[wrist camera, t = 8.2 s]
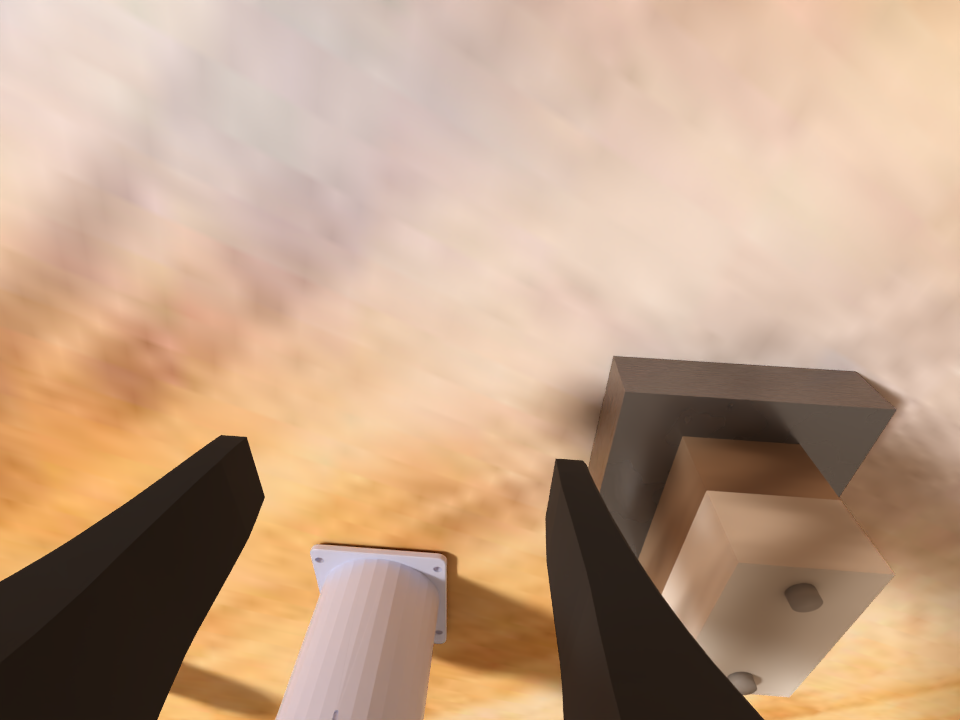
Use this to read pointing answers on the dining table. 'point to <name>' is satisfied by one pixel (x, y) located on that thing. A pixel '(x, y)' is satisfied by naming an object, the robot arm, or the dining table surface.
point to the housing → (759, 560)
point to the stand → (722, 424)
